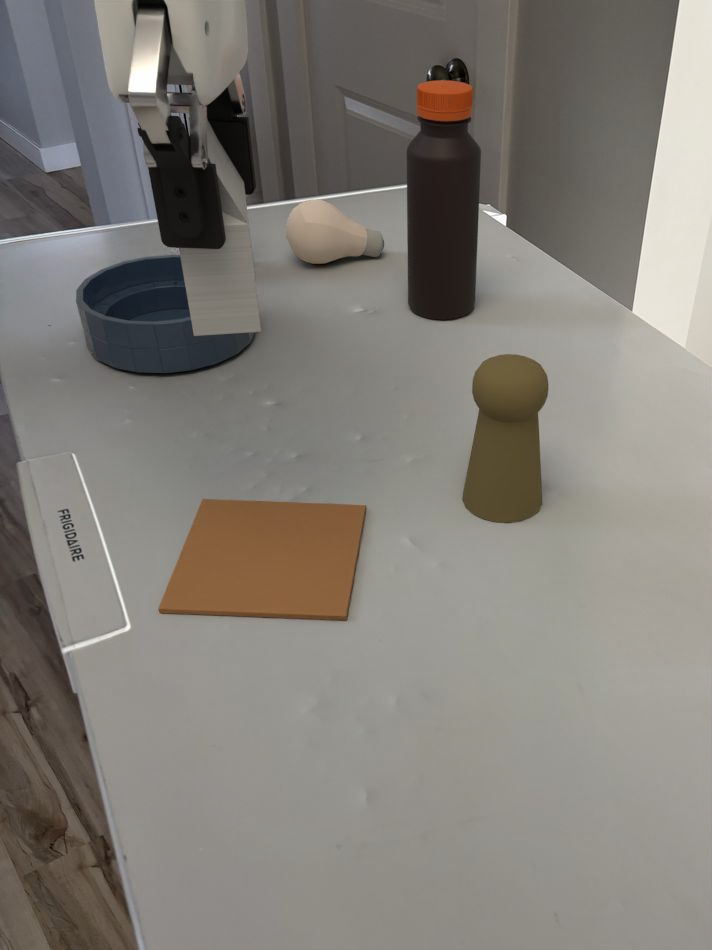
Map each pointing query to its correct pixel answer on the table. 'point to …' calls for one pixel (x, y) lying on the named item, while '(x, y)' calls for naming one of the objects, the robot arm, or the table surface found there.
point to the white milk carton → (223, 261)
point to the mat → (267, 560)
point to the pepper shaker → (506, 440)
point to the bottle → (443, 203)
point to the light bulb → (328, 234)
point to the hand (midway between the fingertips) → (212, 215)
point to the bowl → (148, 319)
